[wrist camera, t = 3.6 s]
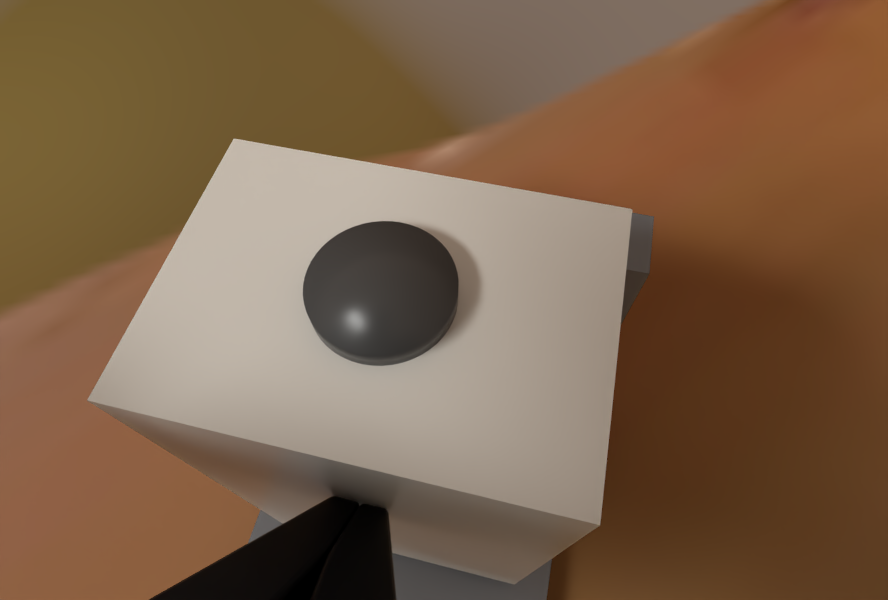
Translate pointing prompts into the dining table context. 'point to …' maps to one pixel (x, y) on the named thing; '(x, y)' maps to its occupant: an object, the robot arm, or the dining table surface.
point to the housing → (472, 596)
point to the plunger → (387, 352)
